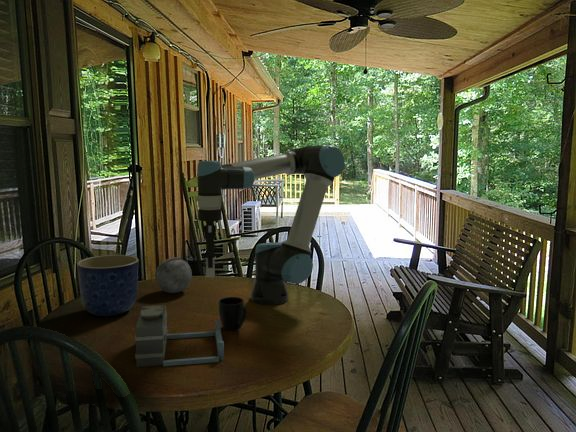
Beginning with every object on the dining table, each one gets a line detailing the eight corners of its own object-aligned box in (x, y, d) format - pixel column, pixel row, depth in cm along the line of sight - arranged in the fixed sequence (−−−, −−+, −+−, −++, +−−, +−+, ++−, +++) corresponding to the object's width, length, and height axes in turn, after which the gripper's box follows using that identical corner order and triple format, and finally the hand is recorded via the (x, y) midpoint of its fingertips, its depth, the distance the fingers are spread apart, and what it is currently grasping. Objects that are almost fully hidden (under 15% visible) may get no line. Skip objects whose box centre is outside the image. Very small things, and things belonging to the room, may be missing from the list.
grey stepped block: (167, 338, 140) (166, 298, 138) (164, 365, 122) (163, 319, 120) (142, 340, 138) (141, 299, 136) (135, 367, 120) (134, 321, 119)
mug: (234, 338, 141) (234, 309, 139) (214, 327, 150) (214, 299, 148) (255, 332, 146) (255, 304, 145) (234, 321, 155) (234, 295, 154)
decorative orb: (181, 285, 197) (181, 252, 195) (198, 293, 187) (198, 258, 185) (149, 292, 187) (149, 257, 185) (166, 300, 177) (165, 263, 175)
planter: (78, 325, 150) (75, 270, 147) (79, 306, 168) (77, 257, 166) (142, 317, 158) (141, 264, 155) (137, 300, 176) (136, 253, 174)
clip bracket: (220, 334, 144) (219, 319, 143) (224, 361, 125) (224, 344, 124) (167, 337, 140) (166, 322, 140) (163, 366, 121) (162, 348, 121)
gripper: (198, 204, 156) (199, 263, 159) (196, 213, 132) (197, 282, 135) (220, 204, 158) (220, 262, 161) (222, 213, 133) (222, 281, 136)
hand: (210, 272), depth 148 cm, fingers open, 13 cm apart
